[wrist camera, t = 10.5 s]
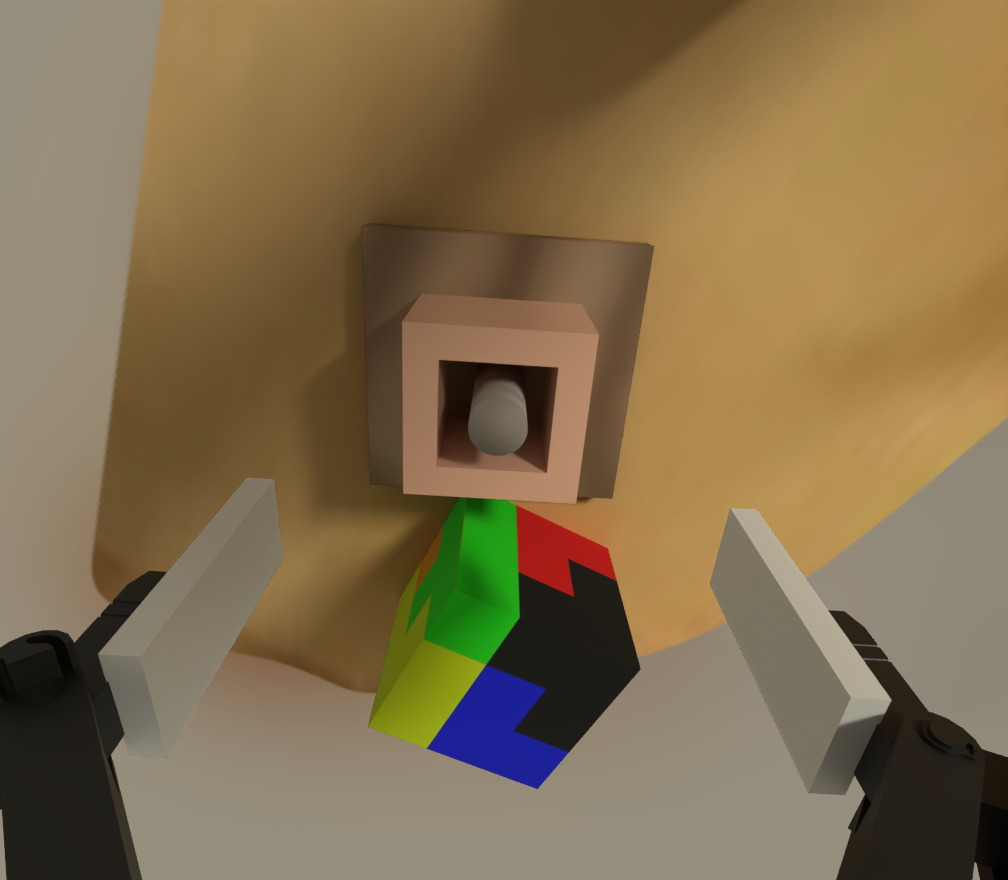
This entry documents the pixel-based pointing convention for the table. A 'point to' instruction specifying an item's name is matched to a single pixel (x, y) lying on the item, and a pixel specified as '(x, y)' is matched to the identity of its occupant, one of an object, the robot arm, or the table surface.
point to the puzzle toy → (505, 643)
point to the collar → (503, 340)
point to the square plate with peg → (490, 386)
